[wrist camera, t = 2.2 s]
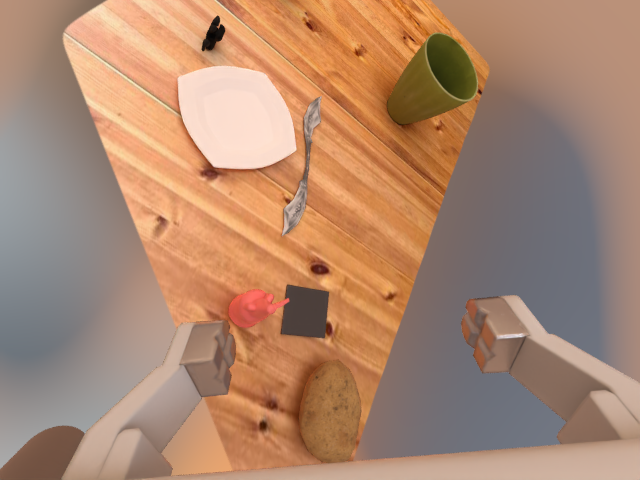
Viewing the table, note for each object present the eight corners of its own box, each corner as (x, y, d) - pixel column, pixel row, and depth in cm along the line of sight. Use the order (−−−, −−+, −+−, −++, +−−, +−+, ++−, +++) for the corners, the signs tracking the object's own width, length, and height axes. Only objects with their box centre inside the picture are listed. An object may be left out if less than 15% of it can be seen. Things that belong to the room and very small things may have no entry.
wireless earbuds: (211, 28, 57) (216, 5, 53) (225, 36, 58) (231, 14, 54) (199, 56, 55) (203, 34, 50) (213, 64, 56) (218, 43, 51)
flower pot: (426, 142, 79) (485, 106, 65) (380, 137, 71) (435, 94, 58) (414, 89, 81) (468, 42, 67) (368, 78, 74) (418, 23, 60)
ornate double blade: (278, 236, 54) (304, 242, 56) (279, 235, 54) (305, 242, 56) (302, 87, 64) (323, 97, 66) (303, 85, 63) (325, 96, 65)
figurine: (250, 288, 50) (284, 277, 37) (262, 317, 50) (300, 317, 37) (219, 301, 48) (244, 295, 35) (232, 332, 48) (262, 338, 35)
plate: (161, 75, 51) (161, 66, 49) (266, 70, 61) (270, 63, 59) (204, 184, 50) (206, 179, 49) (304, 161, 60) (308, 157, 59)
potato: (344, 356, 56) (372, 361, 49) (341, 446, 52) (371, 466, 45) (293, 355, 51) (315, 362, 44) (286, 454, 48) (309, 477, 41)
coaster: (280, 333, 51) (281, 334, 51) (286, 284, 53) (287, 284, 53) (323, 338, 54) (324, 338, 54) (327, 291, 57) (329, 291, 56)
